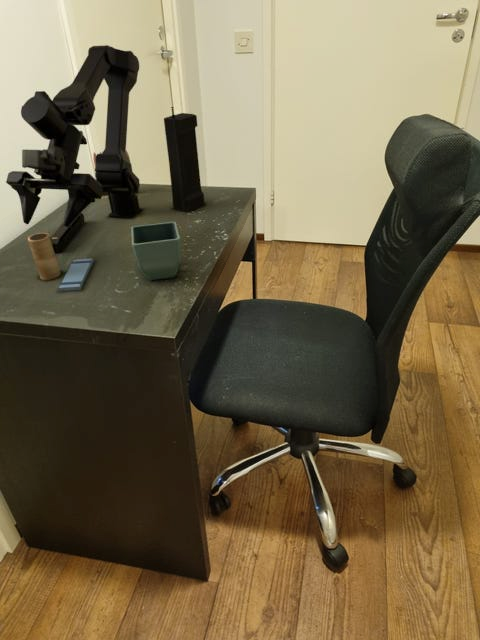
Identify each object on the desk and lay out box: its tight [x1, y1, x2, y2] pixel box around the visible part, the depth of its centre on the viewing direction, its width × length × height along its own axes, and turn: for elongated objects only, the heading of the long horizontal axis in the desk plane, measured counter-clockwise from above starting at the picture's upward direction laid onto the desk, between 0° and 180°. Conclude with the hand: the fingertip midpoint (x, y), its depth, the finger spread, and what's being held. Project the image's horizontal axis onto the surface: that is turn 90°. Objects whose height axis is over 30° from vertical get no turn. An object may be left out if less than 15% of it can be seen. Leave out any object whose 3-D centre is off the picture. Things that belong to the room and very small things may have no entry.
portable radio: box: [163, 106, 205, 212], centre depth 118 cm, size 8×6×25 cm
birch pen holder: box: [27, 232, 61, 281], centre depth 93 cm, size 4×4×8 cm
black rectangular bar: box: [50, 212, 85, 253], centre depth 111 cm, size 18×3×3 cm, turn 178°
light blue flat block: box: [58, 258, 94, 292], centre depth 95 cm, size 4×12×1 cm, turn 3°
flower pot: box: [130, 221, 181, 281], centre depth 91 cm, size 9×9×9 cm
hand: (45, 224), depth 93 cm, fingers open, 9 cm apart
